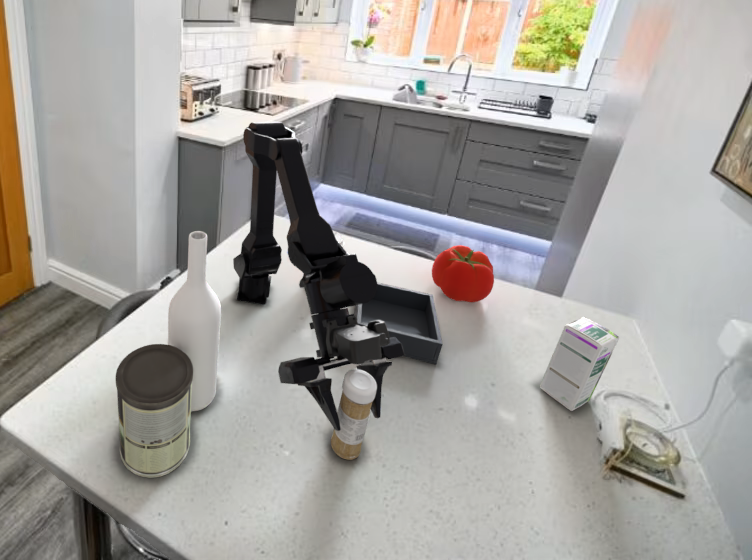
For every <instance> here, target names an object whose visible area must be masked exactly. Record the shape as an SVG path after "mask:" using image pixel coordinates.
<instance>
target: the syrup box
mask: <svg viewBox="0 0 752 560" xmlns="http://www.w3.org/2000/svg"><path fill="white" fill-rule="evenodd" d="M619 339H620V337H619V335H618V334H616V333H615V332H613V331H611V330H610V329H608V328H607V327H605V326H603V325H601V324H599V323H597V322H596V321H593V320H591V319H590V318H587V317H586V316H582V317H580V318H578V319H575V320H573V321H570V322H569V323H567V324H565V325H564V326H563V330H562V331H561V334H560V337H559V339H558V341H557V343H556V345H555V348H554V350H553V353H552V354H551V358H550V360H549V362H548V365H547V367H546V370H545V372H544V374H543V377H542V379H541V381H540V384H539V388H540V389H541V390H542V391H544V392H545V393H546V394H547V395H549V396H550V397H551V398H552V399H554V400H555V401H557V402H558V403H559V404H560V405H562V406H563V407H565V408H566V409H567V410H569V411H570V412H573V411H574V410H575V411H576V409H578V408H580V407H582V406H583V405H585V404H586V403H588V402H589V401H590V400H591V398H592V397H593V394H594V391H595V390H596V388H597V386H598V383H599V381H600V379H601V378H602V376H603V373H604V371H605V369H606V367H607V365H608V363H609V361H610V359H611V356H612V355H613V352H614V350H615V348H616V346H617V344H618V342H619Z"/></svg>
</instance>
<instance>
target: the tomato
mask: <svg viewBox="0 0 752 560" xmlns="http://www.w3.org/2000/svg"><path fill="white" fill-rule="evenodd" d="M474 250H475V249H472V248H471V247H469V246H466V245H462V244H459V245H453V246H451V247H448V248H447V249H445V250H443V251H441V252H440V253H438V254H437V256H436V257H435V259H434V261H433V264H432V267H431V278H432V281H433V283H434V284H435V285H436V286H437V287H438V288H439V289H440V290H441V292H442V294H443V295H444V296H446V297H447V298H448V299H450V300H453V301H455V302H466V303H476V302H477V303H478V302H480V301H483V300H484V299H486V298H487V297H488V296H489V295H490V294H491V292H492V290H493V289H494V283H495V274H494V266H493V265H492V263H491V261H490V259H489V256H488V255H487V254H485V253H484V252H483V251H479V250H478V251H474Z"/></svg>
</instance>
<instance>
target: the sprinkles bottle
mask: <svg viewBox="0 0 752 560" xmlns="http://www.w3.org/2000/svg"><path fill="white" fill-rule="evenodd" d="M341 384H342V385H341V390H342V391H341V395H340V399H339V404H338V408H337V414H338V417H339V422H340V428H341V430H340V431H336V430H335V429H334V428H333V432H332V435H331V437H330V445H331V449H332V451H333V452H334V453H335V454H336V456H338V457H339V458H341V459H344V460H347V461H349V460H350V461H351V460H352V461H353V460H355V459H356V458H358V457H359V456H360V454H361V452H362V444H363V440H364V438H365V435H366V431H367V428H368V423H369V419H370V416H371V405H372V402H373V400H374V398H375V395H376V390H377V384H376V381H375V379H374V378H373V377H372V376H371V375H370V374H369V373H367V372H365V371H363V370H359V369H357V368H352V369H349V370H348V371H346V373H345V374H344V376H343V380H342V383H341Z"/></svg>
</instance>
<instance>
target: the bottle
mask: <svg viewBox="0 0 752 560" xmlns="http://www.w3.org/2000/svg"><path fill="white" fill-rule="evenodd" d="M207 250H208V234H207V233H206V232H205V231H202V230H195V231H192V232H190V233H189V234H188V250H187V251H188V253H187V273H186V280H185V282H184V283H183V284H182V285H181V287H180V288H179V289H178V290H177V291H176V293H175V294H174V295H173V297H172V298H171V300H170V302H169V306H168V312H167V314H168V316H167V318H168V319H167V345H171V346H174V347H176V348H178V349H180V350H182V351H183V352H184V353H185V354H186V355H187V356H188V357H189V358H190V360H191V362H192V365H193V380H192V391H191V412H197V411H201V410H203V409H205V408H207V407H208V406H210V404H212V402H213V400H214V399H215V396H216V393H217V381H218V364H219V353H220V352H219V351H220V338H221V336H220V335H221V323H222V305H221V304H222V303H221V301H220V299H219V297H218V295H217V294H216V292H215V291H214V290H213V289H212V287H211V286H210V284H209V283H208V281H207Z"/></svg>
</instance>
